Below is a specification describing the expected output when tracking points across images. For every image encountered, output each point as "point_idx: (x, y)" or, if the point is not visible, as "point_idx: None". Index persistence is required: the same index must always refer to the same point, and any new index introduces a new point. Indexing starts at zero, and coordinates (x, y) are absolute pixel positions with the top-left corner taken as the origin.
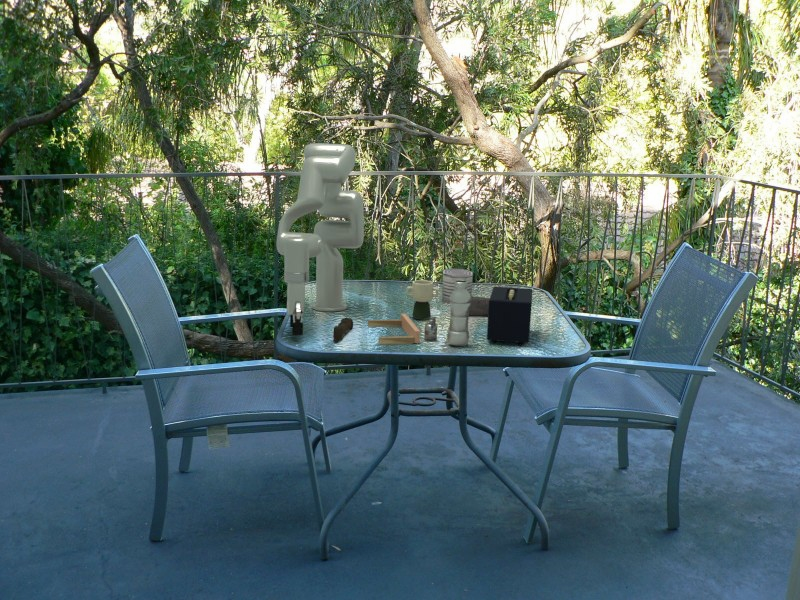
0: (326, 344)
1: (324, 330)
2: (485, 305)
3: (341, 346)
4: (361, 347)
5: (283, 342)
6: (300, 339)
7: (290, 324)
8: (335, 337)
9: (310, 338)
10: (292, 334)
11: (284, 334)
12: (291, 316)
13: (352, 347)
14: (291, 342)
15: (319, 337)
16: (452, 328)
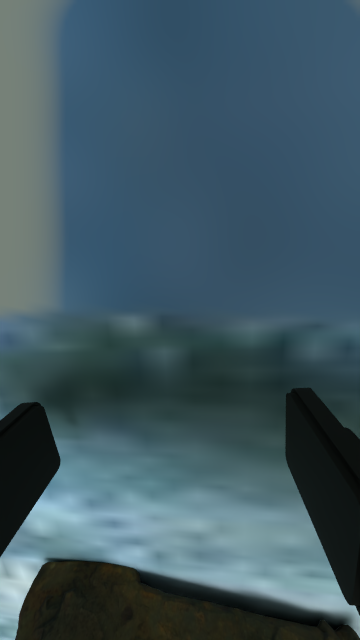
0: (22, 529)
1: (314, 547)
2: None
3: (6, 574)
4: (12, 626)
5: (2, 321)
6: (95, 421)
7: (303, 402)
8: (25, 606)
9: (126, 472)
10: (21, 404)
11: (219, 320)
12: (353, 500)
13: (3, 603)
14: (16, 371)
15: (152, 513)
16: None
